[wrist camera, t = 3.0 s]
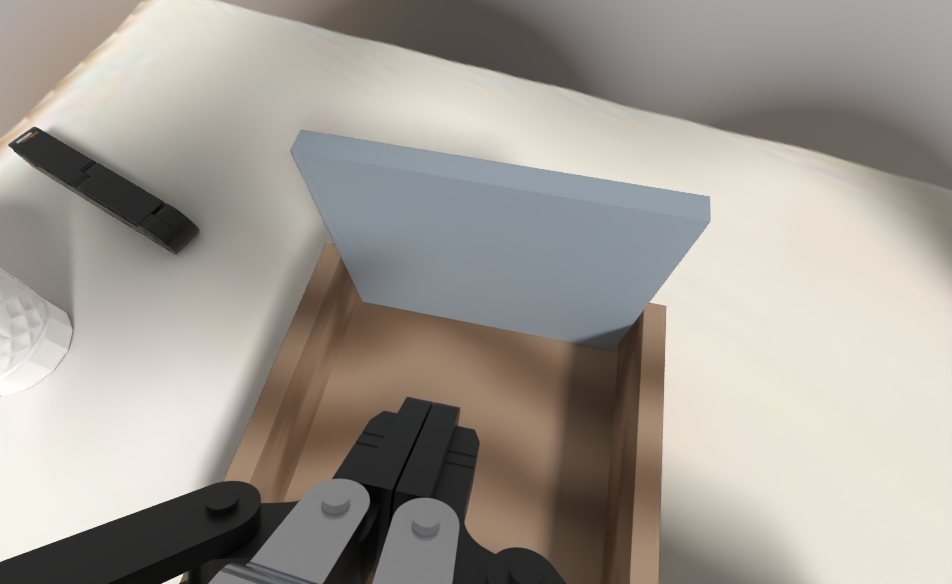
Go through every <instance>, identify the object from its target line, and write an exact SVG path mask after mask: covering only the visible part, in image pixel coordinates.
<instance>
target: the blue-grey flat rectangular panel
mask: <svg viewBox="0 0 952 584" xmlns="http://www.w3.org/2000/svg"><path fill="white" fill-rule="evenodd" d="M290 151H291V154H292V156H293V158H294V160H295V162H296V164H297V166H298V168H299V170H300V172H301V174H302V176H303V179H304V181H305V183H306V185H307V187H308V189H309V191H310V193H311V195H312V197H313V199H314V201H315V204H316V206H317V208H318V210H319V212H320V214H321V216H322V218H323V220H324V222H325V224H326V226H327V228H328V231H329V233H330V235H331V237H332V239H333V241H334V243H335V245H336V247H337V249H338V251H339V253H340V256H341V258H342V260H343V262H344V264H345V266H346V268H347V270H348V272H349V274H350V276H351V278H352V281H353V283H354V285H355V287H356V289H357V291H358V293H359V295H360V297H361V299H362V301H363V302H367V303H372V304H377V305H383V306H388V307H393V308H398V309H403V310H408V311H413V312H418V313H423V314H428V315H433V316H438V317H444V318H449V319H454V320H459V321H464V322H469V323H474V324H479V325H484V326H489V327H494V328H499V329H504V330H510V331H515V332H520V333H525V334H530V335H535V336H540V337H545V338H550V339H555V340H560V341H565V342H571V343H576V344H581V345H586V346H591V347H596V348H601V349H606V350H611V351H613V350H614V348H615V347H616V346H617V344H618V343H619V342H620V341H621V339H622V338H623V337H624V335H625V334H626V333H627V331H628V330H629V329H630V327H631V326H632V325H633V323H634V322H635V321H636V319H637V318H638V317H639V315H640V314H641V313H642V311H643V310H644V309H645V307H646V306H647V305H648V303H649V302H650V301H651V299H652V298H653V297H654V296H655V294H656V293H657V292H658V290H659V289H660V288H661V286H662V285H663V284H664V282H665V281H666V280H667V278H668V277H669V276H670V274H671V273H672V272H673V270H674V269H675V268H676V266H677V265H678V264H679V262H680V261H681V260H682V258H683V257H684V256H685V254H686V253H687V252H688V251H689V249H690V248H691V247H692V245H693V244H694V243H695V241H696V240H697V239H698V237H699V236H700V235H701V233H702V232H703V231H704V229H705V228H706V227H707V225H708V224H709V223H710V197H709V196H703V195H697V194H691V193H685V192H679V191H672V190H666V189H660V188H654V187H648V186H642V185H636V184H630V183H623V182H617V181H611V180H605V179H599V178H593V177H587V176H581V175H574V174H568V173H562V172H556V171H550V170H544V169H538V168H532V167H525V166H519V165H513V164H507V163H501V162H495V161H489V160H483V159H477V158H470V157H464V156H458V155H452V154H446V153H440V152H434V151H428V150H421V149H415V148H409V147H403V146H397V145H391V144H385V143H379V142H372V141H366V140H360V139H354V138H348V137H342V136H336V135H330V134H323V133H317V132H311V131H305V130H301V131H300V133H299V135H298V137H297V139H296V141H295V143H294V144H293V146H292V148H291V150H290Z"/></svg>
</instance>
